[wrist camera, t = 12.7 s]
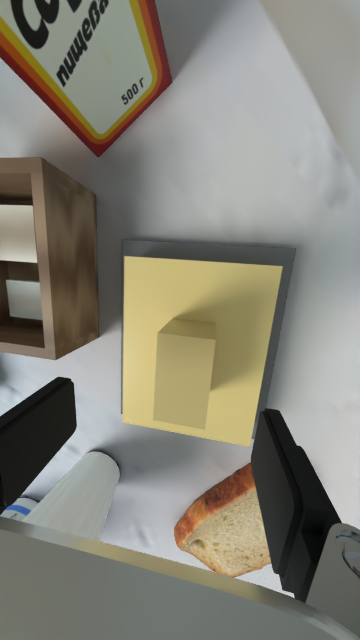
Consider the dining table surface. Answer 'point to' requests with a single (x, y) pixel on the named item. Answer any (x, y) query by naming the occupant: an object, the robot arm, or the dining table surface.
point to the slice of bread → (226, 527)
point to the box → (46, 260)
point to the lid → (196, 345)
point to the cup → (79, 498)
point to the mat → (225, 255)
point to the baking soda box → (87, 60)
